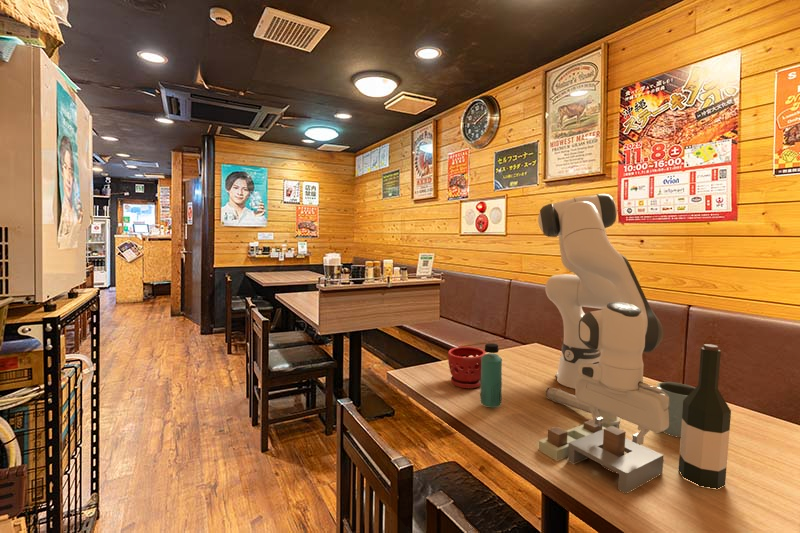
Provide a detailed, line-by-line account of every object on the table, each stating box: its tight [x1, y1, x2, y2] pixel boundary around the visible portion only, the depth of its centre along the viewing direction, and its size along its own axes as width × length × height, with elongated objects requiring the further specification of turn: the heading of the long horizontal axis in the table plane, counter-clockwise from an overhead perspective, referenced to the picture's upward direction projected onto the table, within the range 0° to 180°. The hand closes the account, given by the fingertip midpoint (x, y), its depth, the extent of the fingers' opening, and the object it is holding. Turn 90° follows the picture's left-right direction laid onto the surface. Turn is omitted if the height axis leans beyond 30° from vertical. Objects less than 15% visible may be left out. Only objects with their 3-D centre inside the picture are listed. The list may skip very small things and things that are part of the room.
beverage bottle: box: [479, 342, 503, 408], centre depth 124 cm, size 6×7×20 cm
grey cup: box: [657, 381, 696, 438], centre depth 111 cm, size 10×10×12 cm
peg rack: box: [538, 423, 605, 462], centre depth 103 cm, size 21×5×2 cm, turn 120°
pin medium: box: [547, 426, 568, 448], centre depth 100 cm, size 3×3×6 cm
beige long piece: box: [545, 387, 621, 429], centre depth 121 cm, size 5×7×25 cm
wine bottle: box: [678, 343, 732, 490], centre depth 88 cm, size 8×8×30 cm
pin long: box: [601, 426, 626, 474], centre depth 93 cm, size 3×3×9 cm
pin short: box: [583, 419, 602, 433], centre depth 107 cm, size 3×3×4 cm
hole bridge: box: [567, 429, 664, 494], centre depth 93 cm, size 14×14×4 cm
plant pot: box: [447, 346, 486, 390], centre depth 144 cm, size 13×13×12 cm
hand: (617, 433), depth 93 cm, fingers open, 8 cm apart
